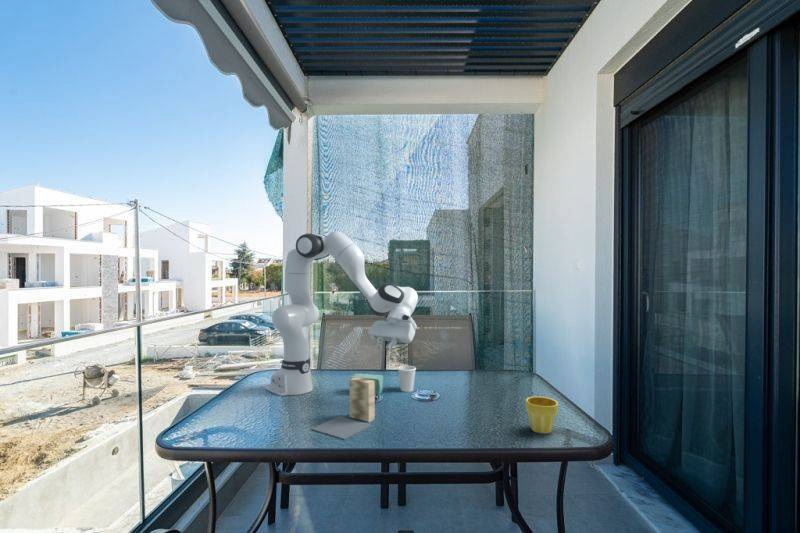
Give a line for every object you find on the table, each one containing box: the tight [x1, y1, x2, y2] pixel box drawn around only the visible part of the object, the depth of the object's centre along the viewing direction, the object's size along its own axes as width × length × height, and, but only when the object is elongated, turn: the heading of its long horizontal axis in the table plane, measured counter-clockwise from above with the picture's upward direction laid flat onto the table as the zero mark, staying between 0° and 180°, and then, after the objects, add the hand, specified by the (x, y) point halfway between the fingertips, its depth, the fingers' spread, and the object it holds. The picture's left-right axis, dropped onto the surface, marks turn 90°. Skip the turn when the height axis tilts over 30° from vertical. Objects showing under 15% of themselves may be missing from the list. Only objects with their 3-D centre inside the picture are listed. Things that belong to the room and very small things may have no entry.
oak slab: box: [348, 377, 376, 423], centre depth 151 cm, size 9×4×14 cm, turn 56°
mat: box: [311, 415, 372, 441], centre depth 142 cm, size 15×14×1 cm
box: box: [349, 372, 384, 396], centre depth 182 cm, size 7×14×8 cm, turn 78°
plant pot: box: [525, 396, 559, 435], centre depth 139 cm, size 10×10×10 cm
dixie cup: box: [397, 365, 417, 393], centre depth 185 cm, size 8×8×10 cm
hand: (383, 348), depth 162 cm, fingers open, 3 cm apart
